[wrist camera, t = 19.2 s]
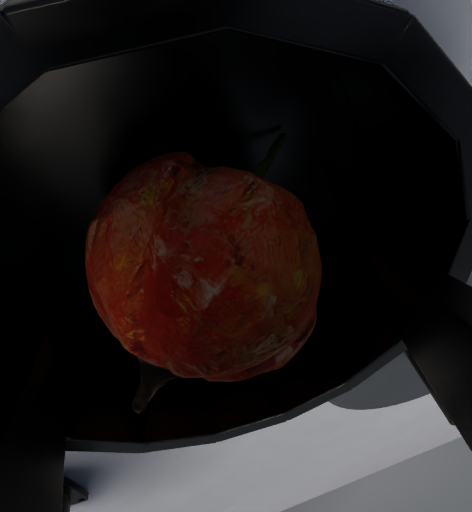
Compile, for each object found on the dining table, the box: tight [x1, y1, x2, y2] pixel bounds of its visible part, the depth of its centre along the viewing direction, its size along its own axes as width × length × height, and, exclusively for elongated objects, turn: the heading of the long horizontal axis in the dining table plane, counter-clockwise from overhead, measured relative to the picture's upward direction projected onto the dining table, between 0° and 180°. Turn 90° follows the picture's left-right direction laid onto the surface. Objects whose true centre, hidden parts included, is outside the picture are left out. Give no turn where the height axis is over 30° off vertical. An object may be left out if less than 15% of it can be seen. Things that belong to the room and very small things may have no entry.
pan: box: [0, 0, 472, 453], centre depth 12 cm, size 15×20×6 cm
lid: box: [329, 272, 472, 425], centre depth 25 cm, size 16×16×6 cm
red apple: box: [85, 133, 322, 414], centre depth 12 cm, size 7×7×10 cm
